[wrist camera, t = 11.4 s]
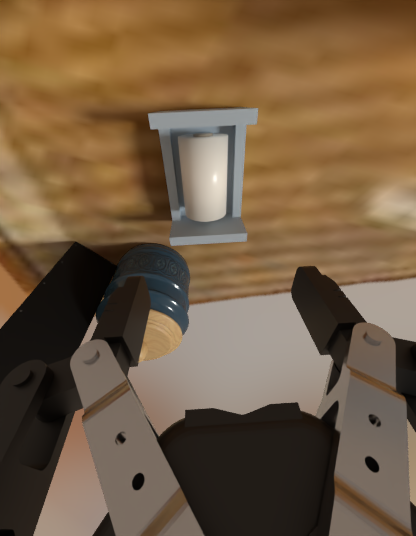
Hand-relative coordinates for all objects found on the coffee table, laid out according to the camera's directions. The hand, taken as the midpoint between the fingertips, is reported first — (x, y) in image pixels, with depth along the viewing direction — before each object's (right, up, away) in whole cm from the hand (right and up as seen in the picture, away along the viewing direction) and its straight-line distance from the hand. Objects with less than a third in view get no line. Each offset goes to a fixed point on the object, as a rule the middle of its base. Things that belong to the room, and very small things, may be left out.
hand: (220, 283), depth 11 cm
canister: (-11, 0, +29) cm, 30 cm away
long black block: (-23, +1, +27) cm, 35 cm away
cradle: (-1, +14, +18) cm, 23 cm away
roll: (-3, +13, +17) cm, 22 cm away
